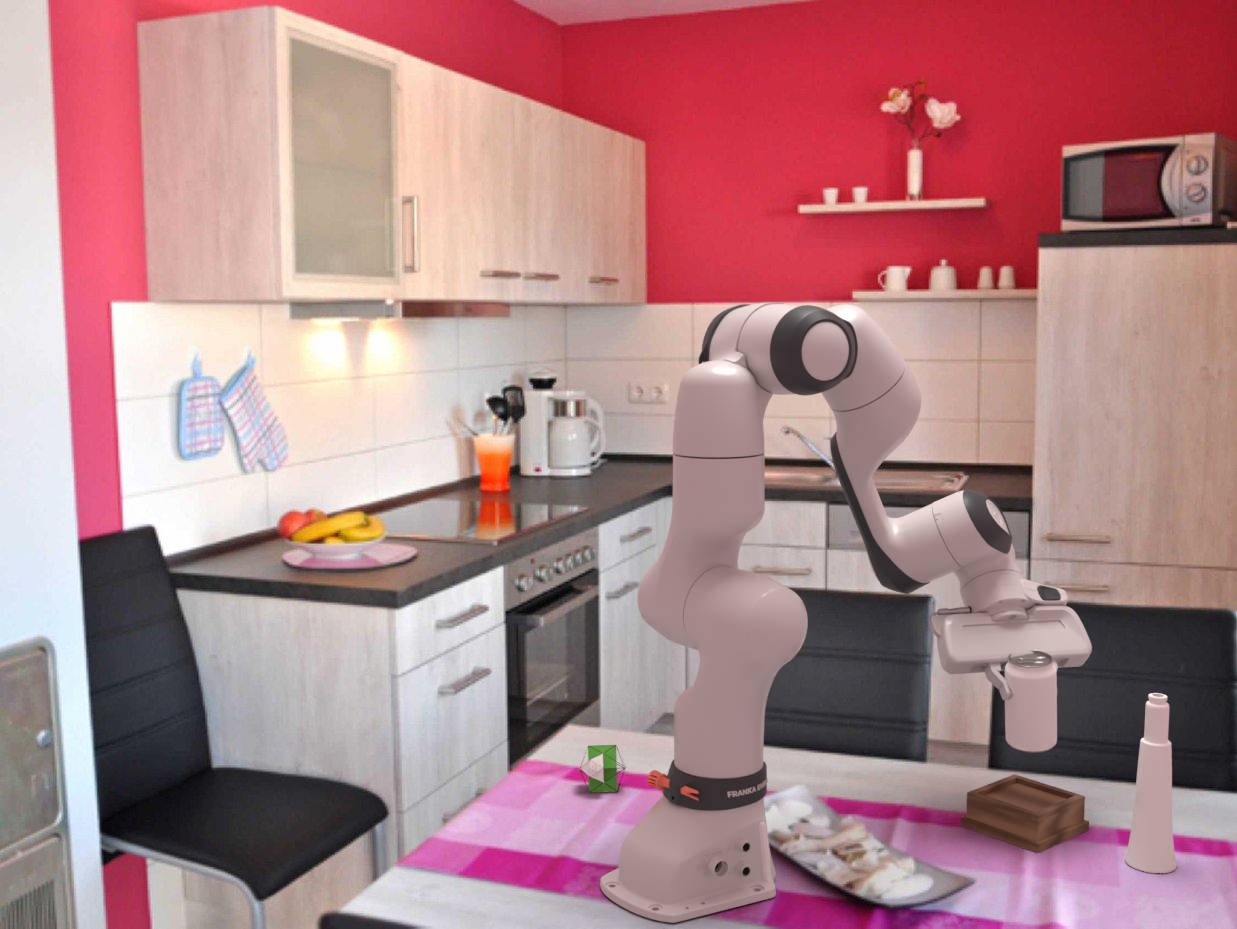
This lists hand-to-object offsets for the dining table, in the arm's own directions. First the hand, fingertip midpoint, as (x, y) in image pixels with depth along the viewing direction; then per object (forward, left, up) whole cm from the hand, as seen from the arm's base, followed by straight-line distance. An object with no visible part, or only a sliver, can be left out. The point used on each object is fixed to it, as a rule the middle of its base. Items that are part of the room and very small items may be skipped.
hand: (1030, 696), depth 170 cm
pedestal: (+5, +3, -20) cm, 21 cm away
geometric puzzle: (-30, +51, -20) cm, 63 cm away
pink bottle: (+7, -14, -20) cm, 25 cm away
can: (+2, +1, -7) cm, 7 cm away
